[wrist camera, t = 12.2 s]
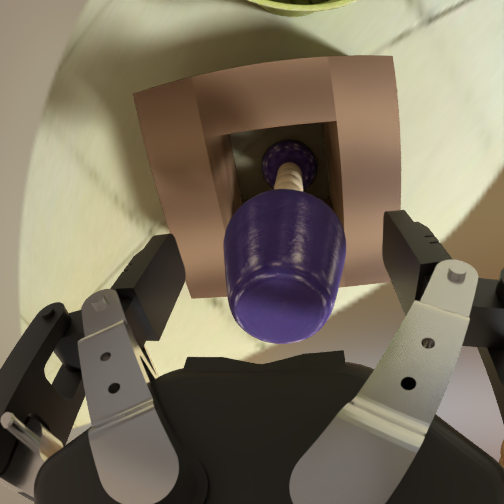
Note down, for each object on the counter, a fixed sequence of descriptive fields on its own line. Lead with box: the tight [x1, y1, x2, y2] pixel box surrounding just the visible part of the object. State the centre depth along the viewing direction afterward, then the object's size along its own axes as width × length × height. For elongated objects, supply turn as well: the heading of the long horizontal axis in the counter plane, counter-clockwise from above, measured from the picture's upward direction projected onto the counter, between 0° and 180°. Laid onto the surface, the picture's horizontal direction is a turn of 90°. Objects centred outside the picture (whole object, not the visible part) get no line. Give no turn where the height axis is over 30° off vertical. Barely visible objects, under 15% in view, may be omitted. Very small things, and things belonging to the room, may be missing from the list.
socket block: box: [133, 55, 401, 298], centre depth 20 cm, size 14×14×7 cm
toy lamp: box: [223, 140, 346, 344], centre depth 16 cm, size 5×5×17 cm
